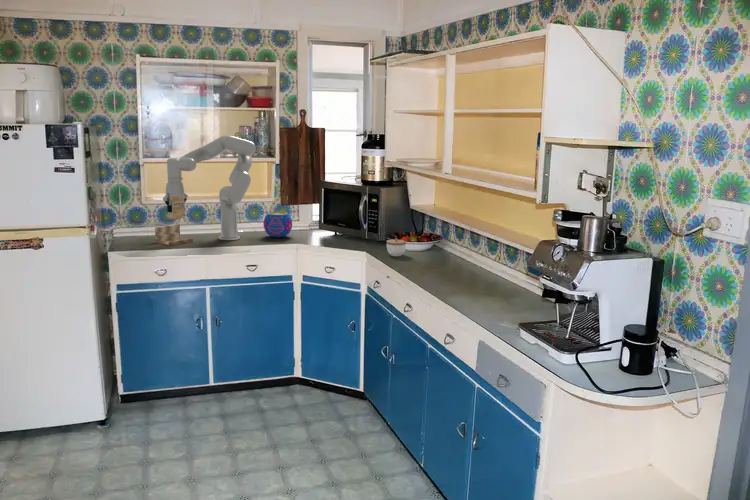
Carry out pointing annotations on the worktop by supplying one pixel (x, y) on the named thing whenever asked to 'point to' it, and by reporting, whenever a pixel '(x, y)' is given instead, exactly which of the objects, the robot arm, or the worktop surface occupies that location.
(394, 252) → the lidded jar
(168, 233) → the patterned wooden bookend
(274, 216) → the ceramic pot
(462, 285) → the worktop surface
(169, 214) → the supplement box
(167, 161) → the robot arm
